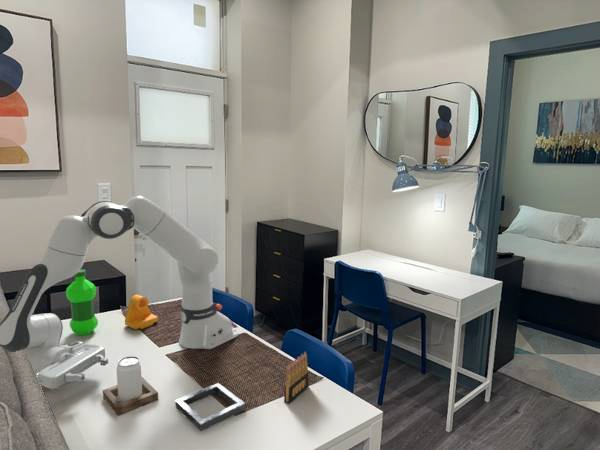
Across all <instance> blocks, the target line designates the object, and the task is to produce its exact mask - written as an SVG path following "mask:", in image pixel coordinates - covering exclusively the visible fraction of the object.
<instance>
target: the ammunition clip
mask: <svg viewBox="0 0 600 450" xmlns="http://www.w3.org/2000/svg"><path fill="white" fill-rule="evenodd" d="M308 365H309V364H308V355H307V352H306V351H304V352H303V353H301V355H300V356H297V358H295V359H294V361H293V360H292V361H291V362H290V363H288V364H287V366H286V367H287V368H286V376H285V385H284V392H283V393H284V395H283V396H284V399H283V400H284V401H283V402H284V403H286V404H292V403H293V402H294V401H295V400H296V399H297V398H298V397H299V396H300V395H302V394H303V393H304V392H305V391H306V390H308V388H309V372H308V369H309V368H308Z"/></svg>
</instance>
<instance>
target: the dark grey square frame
mask: <svg viewBox="0 0 600 450" xmlns="http://www.w3.org/2000/svg"><path fill="white" fill-rule="evenodd" d="M214 393H215V394H218V395H219V396H220V397H221V398H223V399H224V400H226V402H228V403H229V404H230V405H229V406H228V407H226V408H223V409H222V410H221V409H220V411H217V412H214V413H213V414H211V415H209V416H207V417H205V418H202V417H201V416H200V415H199V414H198V413H197V412H196V411H194V409H192V408H191V406H189V405H191V404H194V403H196V402H198V401H200V400H203V399H205V398H207V397H210V396H212V395H215V394H214ZM175 408H176V409H178V411H179V412H180V413H181V414H182V415H184V417H185V418H187V419H188V421H189V422H191V423H192V425H193V426H195V427H196V428H197V429H198V430H199V431H200V432H203V431H204V430H206V429H208V428H211V427H212V426H215V425H216V424H218V423H220V422H223V421H225V420H227V419H229V418H231V417H233V416H235V415H237V414H239V413H240V412H243V411H245V410H246V402H244V401H243V400H241V399H240V398H239V397H237V395H235V394H234V393H232V392H231V391H230V390H229V389H227V388H226V387H224V386H223V385H222V384H220V382H217V383H214V384H211V385H210V386H207V387H204V388H202V389H199V390H197V391H194V392H192V393H189V394H188V395H185V396H183V397H180V398H178V399H176V400H175Z"/></svg>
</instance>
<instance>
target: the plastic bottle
mask: <svg viewBox="0 0 600 450" xmlns="http://www.w3.org/2000/svg"><path fill="white" fill-rule="evenodd" d="M86 276H87V270H86V269H83V268H81V269H80V270H79V272H78V273H77V274H75V275H74V276H73V277H74V279H75V280H74V281H72V282H71V284H69V285H68V286H67V287H66V290H65V296H66V298H67V301H69V302H70V310H71V311H70V312H71V319H70V322H69V327H70V329H71V331H72V332H73V333H74V334H76V335H78V336H87V335H90V334H92V332H93V331H94V330H95V329H96V328H97V326H98V325H99V324H98V323H99V322H98V321H99V320H98V318H97V317H96V315H95V314H96V313H95V302H94V298H96V295H97V291H98V290H97V287H96V286H95V284H94V283H93V282H91V281H89V280H88V279H86Z"/></svg>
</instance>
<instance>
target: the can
mask: <svg viewBox="0 0 600 450" xmlns="http://www.w3.org/2000/svg"><path fill="white" fill-rule="evenodd" d="M141 376H142V365H141V362H140V359H139V357H137V356H134V355H133V356H125V357H122V358H120V359H119V360H118V362H117V366H116V380H117V381H116V383H117V384H116V385H118V396H117V397H118V398H117V399H118V401H119V402H120V403H124V402H126V401H129V400H132V399H134V398H137V397H139V396H142V395H143V391H142V378H141Z"/></svg>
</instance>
